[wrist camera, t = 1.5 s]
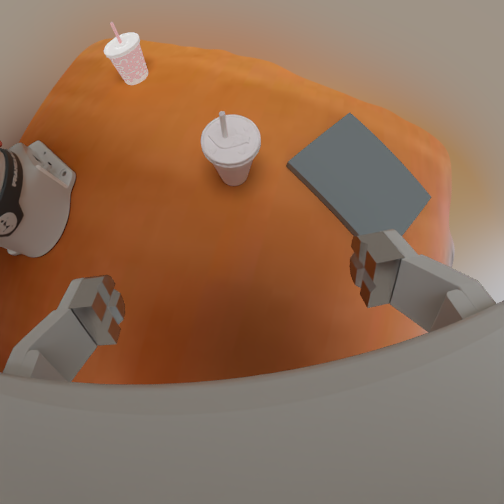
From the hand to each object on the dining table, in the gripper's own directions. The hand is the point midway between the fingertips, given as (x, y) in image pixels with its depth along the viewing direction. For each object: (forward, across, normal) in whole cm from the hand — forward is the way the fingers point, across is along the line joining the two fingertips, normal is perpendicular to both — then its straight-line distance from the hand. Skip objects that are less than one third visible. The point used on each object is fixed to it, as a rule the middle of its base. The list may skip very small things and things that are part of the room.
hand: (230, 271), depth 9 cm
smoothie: (+30, 0, +7) cm, 31 cm away
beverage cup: (+46, +14, -10) cm, 49 cm away
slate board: (+28, -18, +10) cm, 35 cm away
